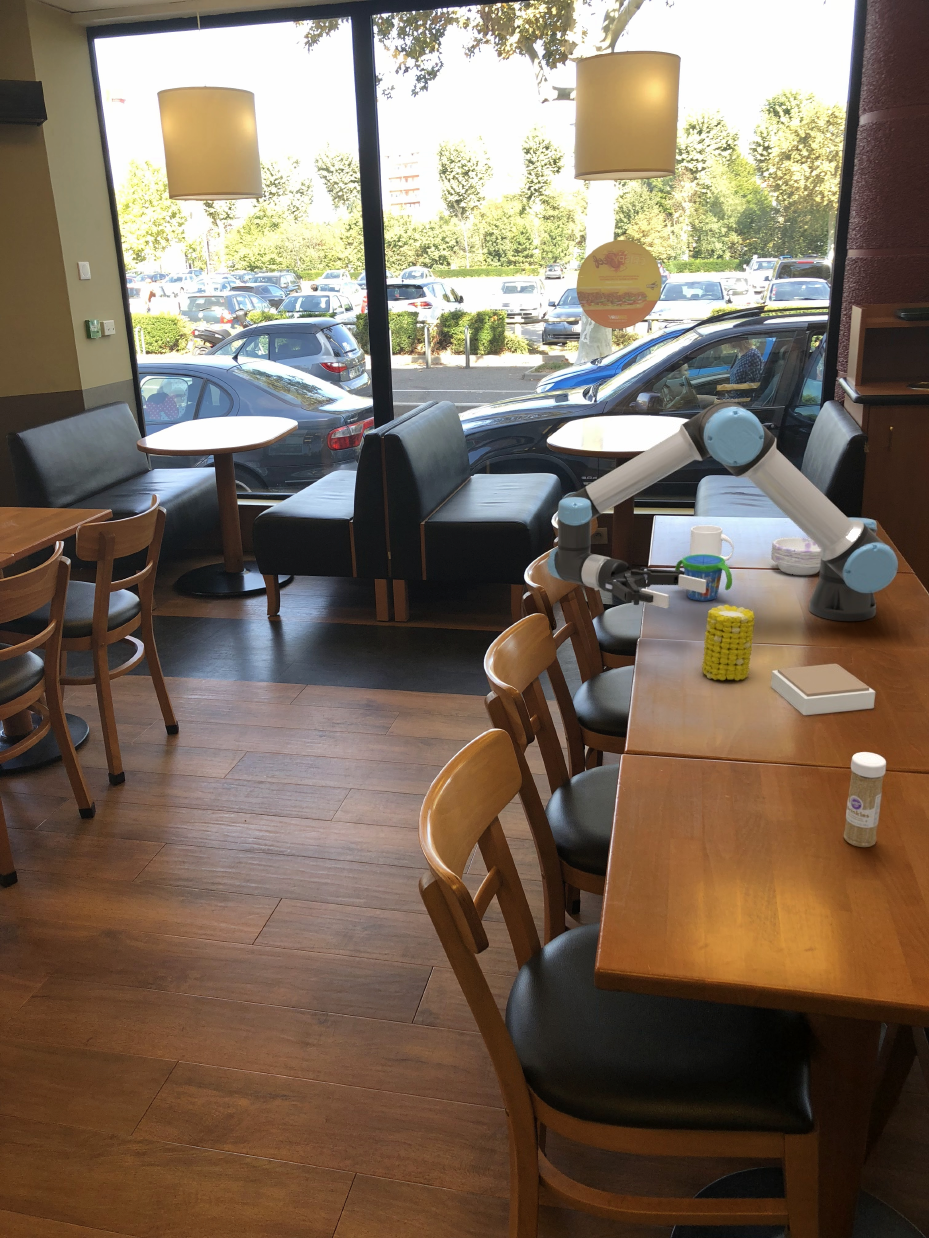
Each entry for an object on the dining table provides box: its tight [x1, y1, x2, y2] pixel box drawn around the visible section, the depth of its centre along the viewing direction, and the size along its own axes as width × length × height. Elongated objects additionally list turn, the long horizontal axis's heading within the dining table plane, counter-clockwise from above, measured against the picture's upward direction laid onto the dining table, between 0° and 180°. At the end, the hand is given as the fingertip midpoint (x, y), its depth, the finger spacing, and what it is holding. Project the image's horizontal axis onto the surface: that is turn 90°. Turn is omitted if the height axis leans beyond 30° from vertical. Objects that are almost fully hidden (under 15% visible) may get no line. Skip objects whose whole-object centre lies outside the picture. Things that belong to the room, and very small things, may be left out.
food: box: [701, 604, 756, 681], centre depth 200 cm, size 15×12×10 cm
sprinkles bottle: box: [843, 751, 887, 848], centre depth 140 cm, size 5×5×13 cm
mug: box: [689, 524, 735, 562], centre depth 274 cm, size 9×12×11 cm
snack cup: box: [674, 554, 733, 602], centre depth 248 cm, size 16×10×10 cm
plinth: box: [770, 663, 876, 716], centre depth 189 cm, size 14×14×4 cm
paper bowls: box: [770, 536, 821, 576], centre depth 267 cm, size 15×15×8 cm
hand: (686, 594), depth 203 cm, fingers open, 13 cm apart
